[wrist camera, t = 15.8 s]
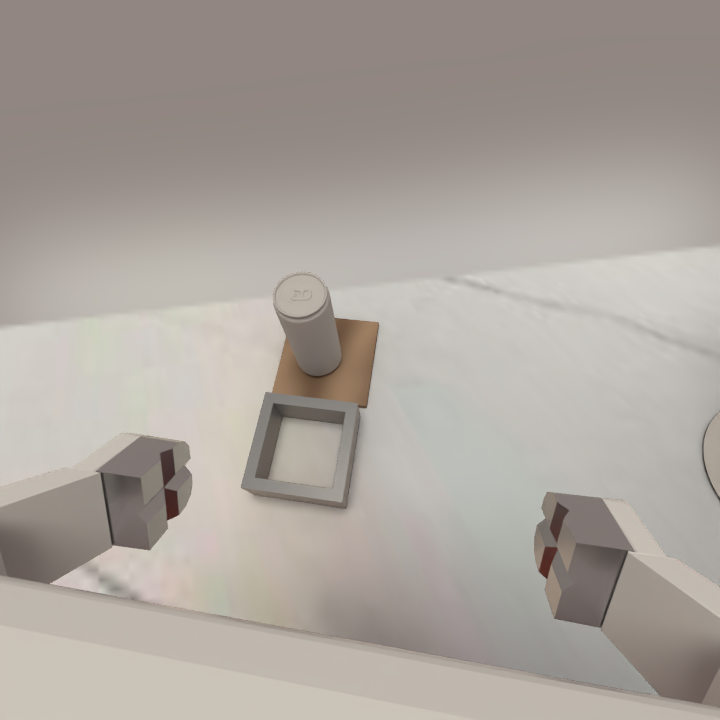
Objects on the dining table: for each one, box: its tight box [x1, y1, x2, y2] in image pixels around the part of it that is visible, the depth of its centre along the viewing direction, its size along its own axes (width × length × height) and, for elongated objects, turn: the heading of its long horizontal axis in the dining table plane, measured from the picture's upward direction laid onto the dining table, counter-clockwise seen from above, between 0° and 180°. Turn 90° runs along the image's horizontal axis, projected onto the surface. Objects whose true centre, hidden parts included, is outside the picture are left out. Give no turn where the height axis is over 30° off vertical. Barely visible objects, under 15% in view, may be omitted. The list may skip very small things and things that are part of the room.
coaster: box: [272, 318, 379, 408], centre depth 46 cm, size 10×10×1 cm
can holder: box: [241, 392, 360, 508], centre depth 40 cm, size 9×9×4 cm
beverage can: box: [273, 272, 342, 376], centre depth 40 cm, size 5×5×12 cm
